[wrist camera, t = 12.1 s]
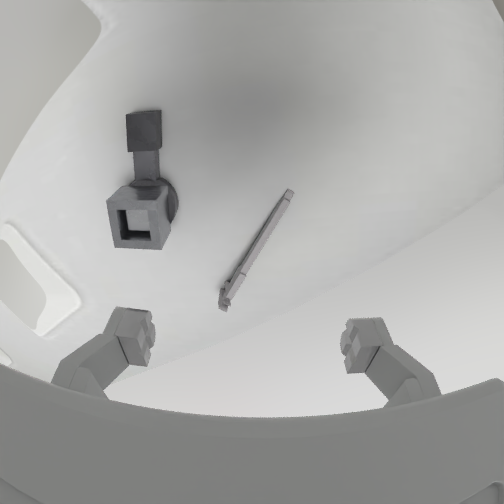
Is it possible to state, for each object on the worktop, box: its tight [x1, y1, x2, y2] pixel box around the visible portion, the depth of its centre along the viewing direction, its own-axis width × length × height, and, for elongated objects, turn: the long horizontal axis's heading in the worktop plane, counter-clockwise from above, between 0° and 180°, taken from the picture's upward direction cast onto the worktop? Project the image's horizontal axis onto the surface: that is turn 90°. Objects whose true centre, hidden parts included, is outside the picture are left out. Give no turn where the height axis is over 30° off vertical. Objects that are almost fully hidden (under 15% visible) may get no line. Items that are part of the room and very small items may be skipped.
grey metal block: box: [106, 186, 171, 250], centre depth 35 cm, size 7×7×5 cm
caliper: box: [218, 189, 294, 312], centre depth 41 cm, size 20×1×6 cm, turn 150°
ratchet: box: [126, 110, 178, 231], centre depth 34 cm, size 17×8×6 cm, turn 177°
